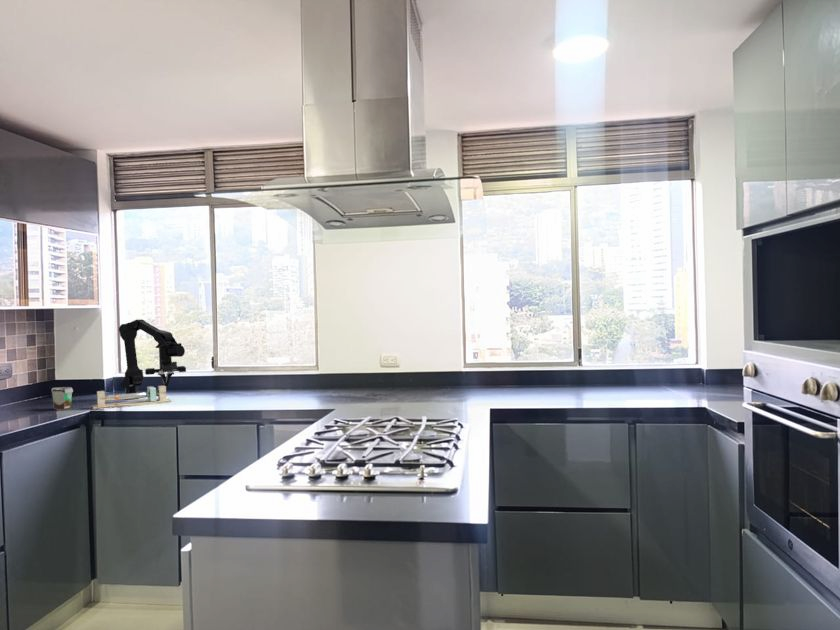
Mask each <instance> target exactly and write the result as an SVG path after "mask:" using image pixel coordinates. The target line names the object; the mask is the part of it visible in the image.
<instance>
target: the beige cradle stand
mask: <svg viewBox="0 0 840 630" xmlns="http://www.w3.org/2000/svg"><path fill="white" fill-rule="evenodd" d="M157 391H159V396H157V398H156V401H150V400H149V399H147V400H137V401H127V402H126V401H125V402H116V403H107V404H106V401H105V396H106V394H105V393H106V391H105V390H97V391H96V399H98V402H97V401H96V405H92V406H91V407H93V408H92V409H99V410H101V409H100V408H109V407H118V408H122V407H121V406H128V407H134V406H133V405H138V406H144V405H145V406H146V405H147V406H148V405H157V404H165V403H166V404H167V403H172V400H171V399H170V398H168V397H167V387H166V386H165V385H158V386H157ZM109 409H110V408H109Z"/></svg>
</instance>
